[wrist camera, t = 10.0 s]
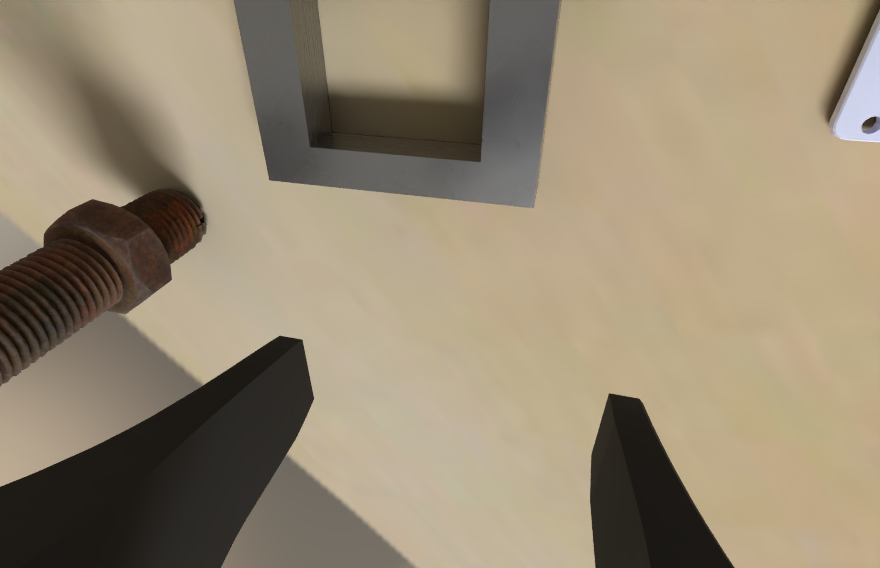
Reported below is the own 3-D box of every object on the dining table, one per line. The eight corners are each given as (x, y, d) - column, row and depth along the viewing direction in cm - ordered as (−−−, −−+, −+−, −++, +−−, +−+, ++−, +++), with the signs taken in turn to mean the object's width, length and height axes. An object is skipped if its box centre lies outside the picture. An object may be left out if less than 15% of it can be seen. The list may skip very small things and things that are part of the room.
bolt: (115, 158, 23) (-410, 370, 11) (203, 157, 22) (-279, 395, 10) (163, 263, 26) (-204, 520, 14) (242, 267, 25) (-83, 554, 13)
